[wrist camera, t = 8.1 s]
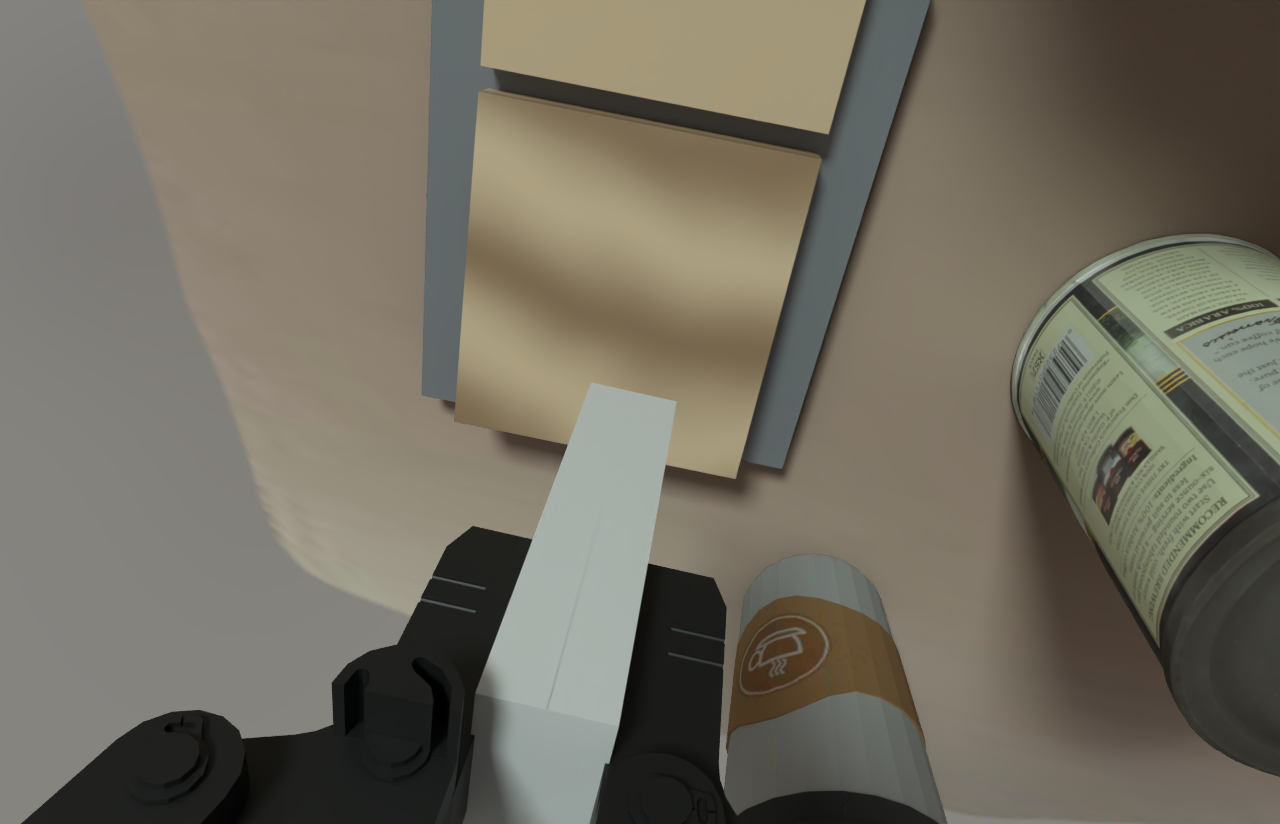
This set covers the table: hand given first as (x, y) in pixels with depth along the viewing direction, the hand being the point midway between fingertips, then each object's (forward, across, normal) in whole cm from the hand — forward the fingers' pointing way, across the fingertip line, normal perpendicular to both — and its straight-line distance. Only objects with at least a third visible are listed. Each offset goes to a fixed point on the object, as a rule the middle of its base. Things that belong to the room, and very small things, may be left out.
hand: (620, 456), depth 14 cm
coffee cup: (+17, +10, -18) cm, 27 cm away
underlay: (+17, -2, -1) cm, 17 cm away
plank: (+15, -2, -4) cm, 16 cm away
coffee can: (+18, +18, -3) cm, 26 cm away
